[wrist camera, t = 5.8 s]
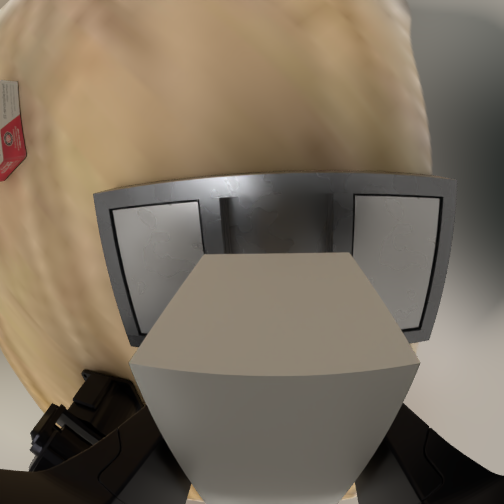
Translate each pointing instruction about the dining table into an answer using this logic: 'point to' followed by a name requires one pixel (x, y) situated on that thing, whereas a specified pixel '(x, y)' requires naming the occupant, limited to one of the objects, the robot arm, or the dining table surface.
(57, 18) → the dining table surface
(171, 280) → the frame
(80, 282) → the dining table surface
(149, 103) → the dining table surface
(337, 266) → the light grey rectangular block
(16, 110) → the ink box
